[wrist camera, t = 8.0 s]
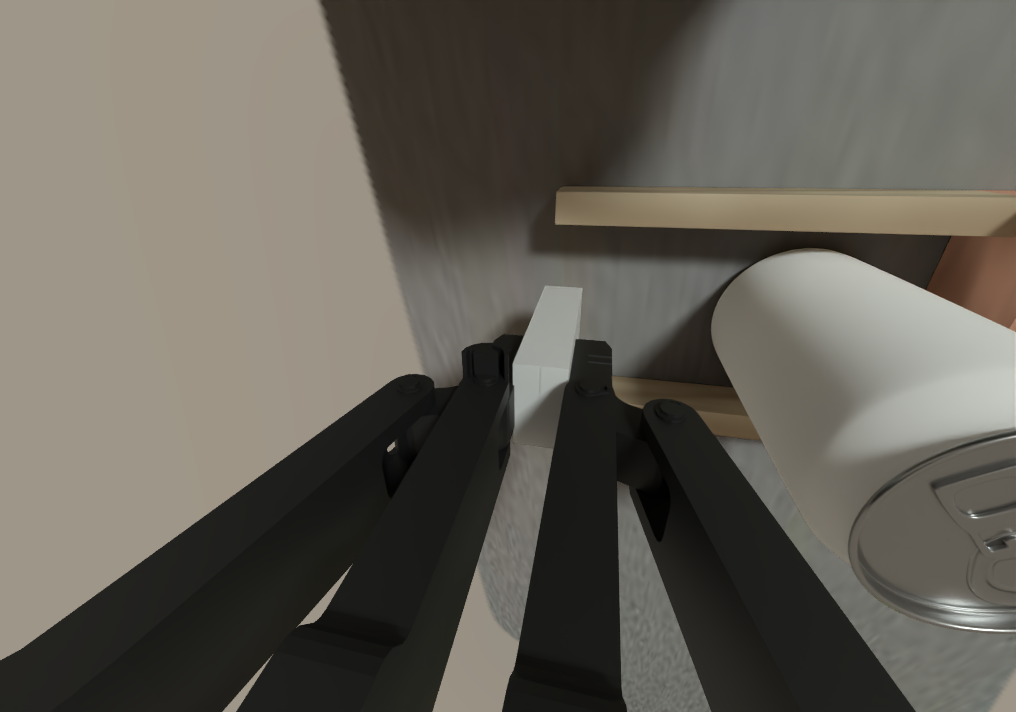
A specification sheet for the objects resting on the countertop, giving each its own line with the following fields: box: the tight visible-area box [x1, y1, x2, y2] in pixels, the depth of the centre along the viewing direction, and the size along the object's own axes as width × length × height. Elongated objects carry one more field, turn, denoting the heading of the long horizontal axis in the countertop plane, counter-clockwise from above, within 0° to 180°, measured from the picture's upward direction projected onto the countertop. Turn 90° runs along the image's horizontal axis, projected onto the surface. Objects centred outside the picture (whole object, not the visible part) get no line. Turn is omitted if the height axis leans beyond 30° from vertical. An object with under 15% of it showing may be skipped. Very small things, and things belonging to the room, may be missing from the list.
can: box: [711, 248, 1016, 634], centre depth 13 cm, size 6×6×12 cm
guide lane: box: [555, 186, 1016, 440], centre depth 17 cm, size 10×17×4 cm, turn 91°
